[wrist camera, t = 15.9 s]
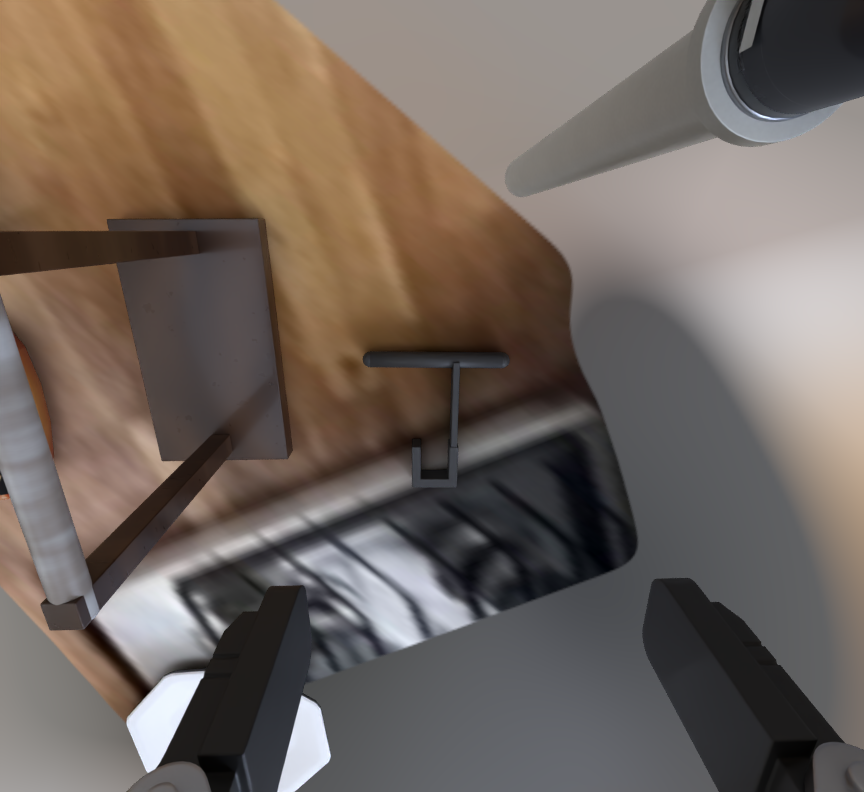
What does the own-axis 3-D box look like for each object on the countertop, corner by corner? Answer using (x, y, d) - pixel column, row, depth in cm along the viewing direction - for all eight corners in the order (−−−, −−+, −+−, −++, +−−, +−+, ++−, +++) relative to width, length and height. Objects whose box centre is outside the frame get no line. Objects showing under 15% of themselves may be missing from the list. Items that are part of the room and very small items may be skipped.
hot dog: (41, 314, 34) (-20, 327, 29) (80, 473, 38) (32, 507, 34) (-29, 311, 34) (-102, 324, 29) (18, 472, 38) (-39, 505, 33)
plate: (168, 793, 52) (161, 809, 51) (115, 665, 46) (106, 679, 44) (340, 780, 52) (338, 795, 51) (313, 650, 46) (310, 664, 44)
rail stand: (265, 219, 32) (77, 205, 14) (292, 450, 38) (185, 640, 21) (119, 219, 32) (-252, 206, 14) (171, 452, 38) (-45, 646, 20)
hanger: (511, 355, 34) (501, 487, 38) (507, 350, 36) (498, 477, 40) (361, 354, 34) (366, 487, 38) (363, 348, 35) (368, 477, 39)
